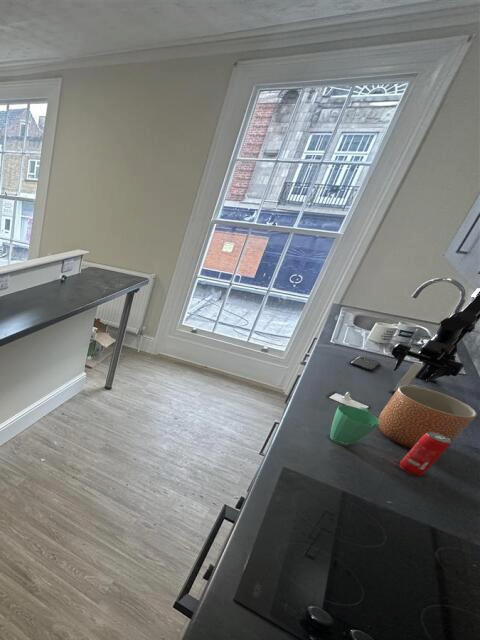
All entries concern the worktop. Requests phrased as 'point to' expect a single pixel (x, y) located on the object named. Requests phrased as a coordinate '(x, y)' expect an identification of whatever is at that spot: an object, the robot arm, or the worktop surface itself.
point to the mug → (352, 424)
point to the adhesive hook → (347, 400)
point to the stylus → (409, 376)
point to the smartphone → (365, 363)
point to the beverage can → (424, 453)
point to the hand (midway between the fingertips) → (410, 376)
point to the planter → (423, 415)
